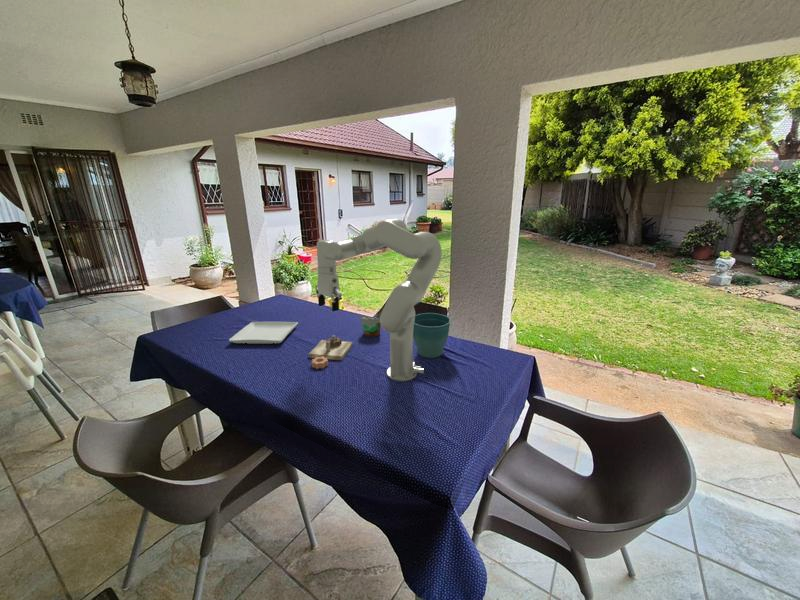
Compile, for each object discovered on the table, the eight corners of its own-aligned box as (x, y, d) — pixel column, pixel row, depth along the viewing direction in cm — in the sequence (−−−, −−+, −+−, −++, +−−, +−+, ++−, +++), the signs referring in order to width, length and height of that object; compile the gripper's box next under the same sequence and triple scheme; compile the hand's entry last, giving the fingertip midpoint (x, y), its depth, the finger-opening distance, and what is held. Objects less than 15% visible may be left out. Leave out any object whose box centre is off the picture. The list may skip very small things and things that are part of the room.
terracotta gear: (330, 361, 152) (330, 357, 151) (324, 369, 145) (324, 364, 144) (315, 360, 153) (315, 355, 152) (309, 368, 146) (308, 363, 146)
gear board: (352, 345, 168) (352, 333, 167) (341, 360, 153) (341, 347, 151) (322, 343, 171) (321, 331, 169) (308, 357, 156) (307, 344, 154)
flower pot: (447, 363, 150) (449, 327, 145) (408, 359, 153) (408, 325, 148) (450, 346, 167) (451, 314, 162) (414, 343, 170) (414, 311, 165)
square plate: (282, 347, 168) (281, 339, 167) (228, 346, 169) (227, 339, 168) (299, 327, 194) (298, 320, 193) (252, 327, 195) (251, 320, 194)
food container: (356, 335, 181) (355, 317, 178) (363, 331, 186) (362, 314, 183) (376, 339, 175) (375, 321, 173) (382, 335, 181) (381, 318, 178)
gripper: (347, 271, 140) (348, 310, 145) (322, 265, 151) (323, 301, 156) (332, 274, 134) (334, 314, 140) (307, 267, 145) (309, 305, 150)
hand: (328, 307), depth 148 cm, fingers open, 9 cm apart
